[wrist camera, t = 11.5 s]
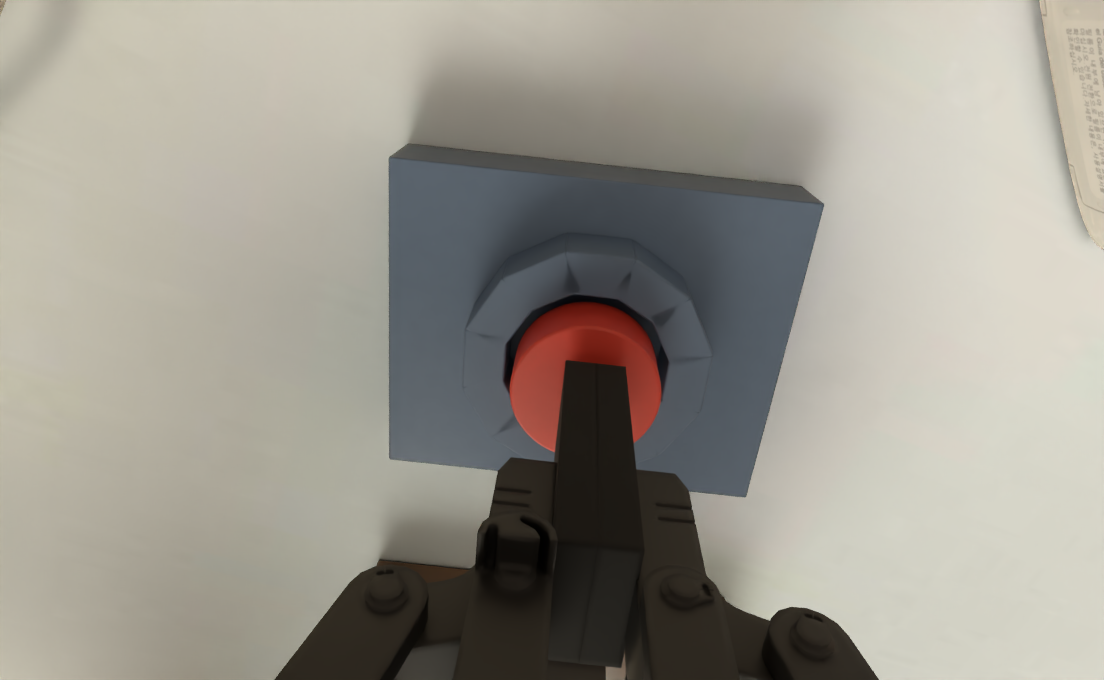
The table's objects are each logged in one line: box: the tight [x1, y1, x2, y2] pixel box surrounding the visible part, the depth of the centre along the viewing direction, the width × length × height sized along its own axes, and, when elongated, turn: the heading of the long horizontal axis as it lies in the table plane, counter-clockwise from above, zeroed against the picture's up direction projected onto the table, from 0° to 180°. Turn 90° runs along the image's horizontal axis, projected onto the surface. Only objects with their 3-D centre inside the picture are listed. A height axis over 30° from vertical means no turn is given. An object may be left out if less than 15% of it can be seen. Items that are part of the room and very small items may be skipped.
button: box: [510, 302, 661, 452], centre depth 19 cm, size 4×4×2 cm
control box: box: [389, 144, 824, 497], centre depth 21 cm, size 12×10×4 cm
